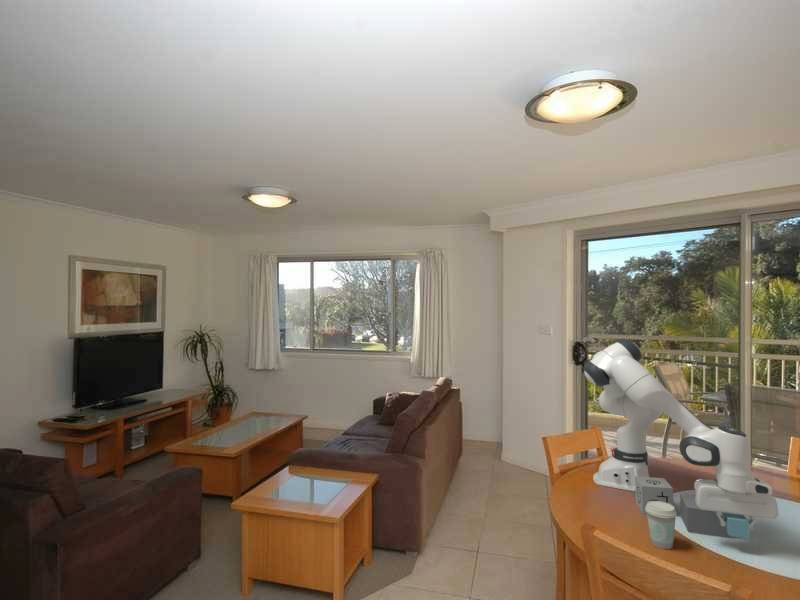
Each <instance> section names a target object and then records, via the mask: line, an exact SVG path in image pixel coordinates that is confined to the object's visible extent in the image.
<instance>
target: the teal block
mask: <svg viewBox="0 0 800 600" xmlns="http://www.w3.org/2000/svg"><path fill="white" fill-rule="evenodd" d="M723 514H724V519H725V520H726V521H727V527H724V529H725V530H726V532H727V533H728V535H729V536H732V537H738V538H745V539H750V530H749V519H747V518H746V515H741V514H732V513H724V512H723Z"/></svg>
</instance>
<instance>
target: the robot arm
mask: <svg viewBox="0 0 800 600" xmlns="http://www.w3.org/2000/svg"><path fill="white" fill-rule="evenodd" d="M641 359H642V352H641V349H640V348H639V346H638V345H637V344H636V343H635V342H633V341H632V340H630V339H628V338H620V339H619V340H616V341H615V343H612V344H611V345H608V346H607V347H605V348H604V349H603V350H600V351H598V352H596V353H595V354H594V355H593V357H592V358H591V360H590V361H589V360H588V361H587V362H586V363H585V364H584V366H583V367H582V370H583V373H584V376H585V378H586V380H587V381H588V382H589V383H591V384H592V385H594V386H596V387H600V388H601V387H603V389H604V390H602V392H600V394H599V397H598V405H599V406H600V408H601V410H602V411H604V412H607V413H609V414H612V415H615V416H620V417H627V418H628V422H627V424H624V425H621V426H620V427H618V429H617V430H616V447H615V446H611V447H610V452H611V455H612V456H611V457H609V458H607V459H606V460H604V461H602V462H601V463H600V464H599V467H598V471H597V472H595V473H594V474H593V476H592V477H593V478H592V479H593V482H594V483H595V484H596V485H597V486H603V487H608V488H614V489H620V490H624V491H629V492H635V493H636V491H635V476H639V477H650V473H649V468H648V466H649V464H648V463H649V453H648V450H647V432H648V430H649V428H650V426H651V424H652V423H653V422H655V421H656V420H658V419H659V418H660V417H661V416H662V415H663V414H665V415H666V416H668V417H669V418H670V419H671V420H672V421H673V422H674V423H675V424H676V425H677V426H678V427H679V428H681V430H682V431H684V432H685V433H686V436H684V437H683V438H682V439H681V440H680V443H679V445H678V446H679V449H678V450H679V452H680V455H681V456H682V458H683V459H684V460H686V461H687V462H688V463H689V464H692V465H694V466H699V467H700V466H701V467H715V478H716V479H715V478H714V479H713V478H712V479H711V478H709V479H708V478H699V479H696V480H695V481H694V482H693V486H694V487H693V488H694V491H695V495H696V497H695V502H696V505H697V506H698V507H699V508H700V509H701V510H708V511H715V513H716V514H717V516H718V517H719V519H720V525H721V526H723V527H727V521H726V520H725V519H722V518H721V516H720V515H722V512H724V513H732V514H741V515H744V516H749V519H748V521H749V531H754V525H755V524H756V522H757V520H758V517H759V518H766V519H774V520H775V519H777V518H778V516H779V508H778V503H777V502H778V501H777V500H776V497H775V496H774V495H773V493H774V492H773V487H772V486H771V485H770V484H769V483H768V482H766V481H765V480H763V479H761V478H759V477H755V476H753V474H752V473H753V472H752V469H751V462H752V453H751V452H752V451H751V446H750V441H749V437H748V435H747V434H746V433H745V432H744V431H742V430H741V429H738V428H736V427H732V426H728V425H727V426H726V425H718V426H717V427H715V428H714V427H712V426H710V425H709V424H706V423H705V422H704V421H702V420H701V419H700V418H698V417H697V416H696V415H695V414H694V413H693V412H692V411H691V410H690V409H689V408H688V407H687V406H686V405H684V404H683V403H682V402H681V401H680V400H678V398H677V397H675V396H674V395H673V394H672V393H671V392H670V391H669V390H668V389H667V388H666V387H665V386H664V385H663V384H662V383H661V382H660V381H659V380H658V379H657V378H656V376H654V375H653V374H652V373H651V372H650V371H649V370H648V369H647V368H646V367H644V365H642V363H640V361H641Z"/></svg>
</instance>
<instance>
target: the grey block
mask: <svg viewBox="0 0 800 600" xmlns="http://www.w3.org/2000/svg"><path fill="white" fill-rule="evenodd" d="M679 496H680V499H679V500H680V517H681V521H682V522H683V524H684V527H685V528H686V531H687V532H688V533H692V534H699V535H705V536H706V535H707V536H713V537H719V538H720V537H721V538H726V539H727V538H728V539H733V536H729V535H728V533H727V532H726V530H725V529H724V527H723V526H721V525H720V519H719V517H718V516H717V514H716V513H715V511H708V510H701V509H700V508H699V507H698V506H697V505H696V502H695V497H696V494H694V495H693V494H687V493H679ZM720 516H721V518H722V519H724V514H723V512H722V515H720Z"/></svg>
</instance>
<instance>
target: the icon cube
mask: <svg viewBox="0 0 800 600" xmlns="http://www.w3.org/2000/svg"><path fill="white" fill-rule="evenodd" d="M635 491H636V492H635ZM635 491H634V492H635V503H636V505H637V507H638V509H639V510H640V512H641V514H642V515H646V516H647V512H646V510H645V508H646V505H647V503H648V502H650V501H661V502H665V503H668V504H670V505H672V506H673V507H674V504H675V503H674V488H673V486H671V484H670V483H669V482H668V481H667V479H665V477H650V476H649V477H639V476H635ZM674 508H675V507H674Z"/></svg>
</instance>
